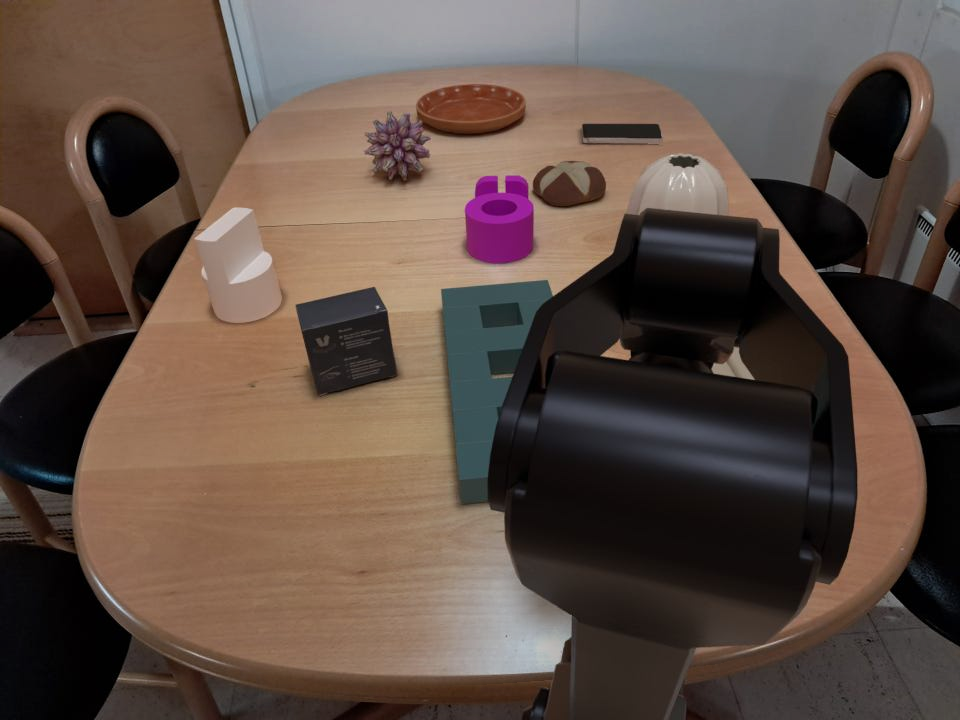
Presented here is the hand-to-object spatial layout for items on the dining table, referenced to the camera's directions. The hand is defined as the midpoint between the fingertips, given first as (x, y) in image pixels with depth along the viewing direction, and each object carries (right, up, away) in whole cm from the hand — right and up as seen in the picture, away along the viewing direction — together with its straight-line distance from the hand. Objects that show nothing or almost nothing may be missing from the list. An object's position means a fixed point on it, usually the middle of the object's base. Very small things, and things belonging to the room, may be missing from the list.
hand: (636, 563), depth 57 cm
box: (-28, +15, +24) cm, 40 cm away
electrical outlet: (+16, +13, +19) cm, 28 cm away
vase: (+15, +33, +44) cm, 57 cm away
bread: (+2, +45, +60) cm, 75 cm away
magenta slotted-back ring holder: (-10, +35, +49) cm, 61 cm away
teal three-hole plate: (-9, +14, +21) cm, 27 cm away
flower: (-27, +50, +68) cm, 88 cm away
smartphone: (+15, +60, +78) cm, 100 cm away
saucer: (-15, +68, +89) cm, 113 cm away
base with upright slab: (-44, +24, +37) cm, 63 cm away
